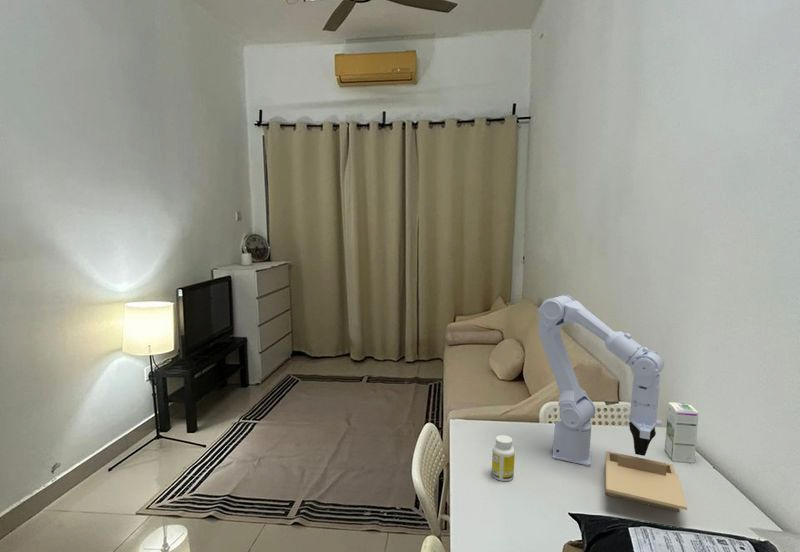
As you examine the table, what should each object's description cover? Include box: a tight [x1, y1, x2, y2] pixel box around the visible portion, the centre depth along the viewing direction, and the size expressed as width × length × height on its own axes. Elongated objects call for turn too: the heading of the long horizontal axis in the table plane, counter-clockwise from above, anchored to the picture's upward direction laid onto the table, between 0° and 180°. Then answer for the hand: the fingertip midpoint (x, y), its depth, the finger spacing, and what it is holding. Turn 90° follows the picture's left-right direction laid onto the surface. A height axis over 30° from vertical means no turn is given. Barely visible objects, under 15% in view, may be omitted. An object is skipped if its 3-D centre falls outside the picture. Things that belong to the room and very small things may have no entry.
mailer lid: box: [605, 453, 688, 511], centre depth 102 cm, size 15×13×3 cm
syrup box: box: [664, 401, 699, 464], centre depth 123 cm, size 6×6×14 cm
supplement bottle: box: [491, 434, 516, 482], centre depth 113 cm, size 5×5×10 cm
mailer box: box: [604, 450, 680, 513], centre depth 109 cm, size 15×13×4 cm
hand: (639, 453), depth 112 cm, fingers closed
